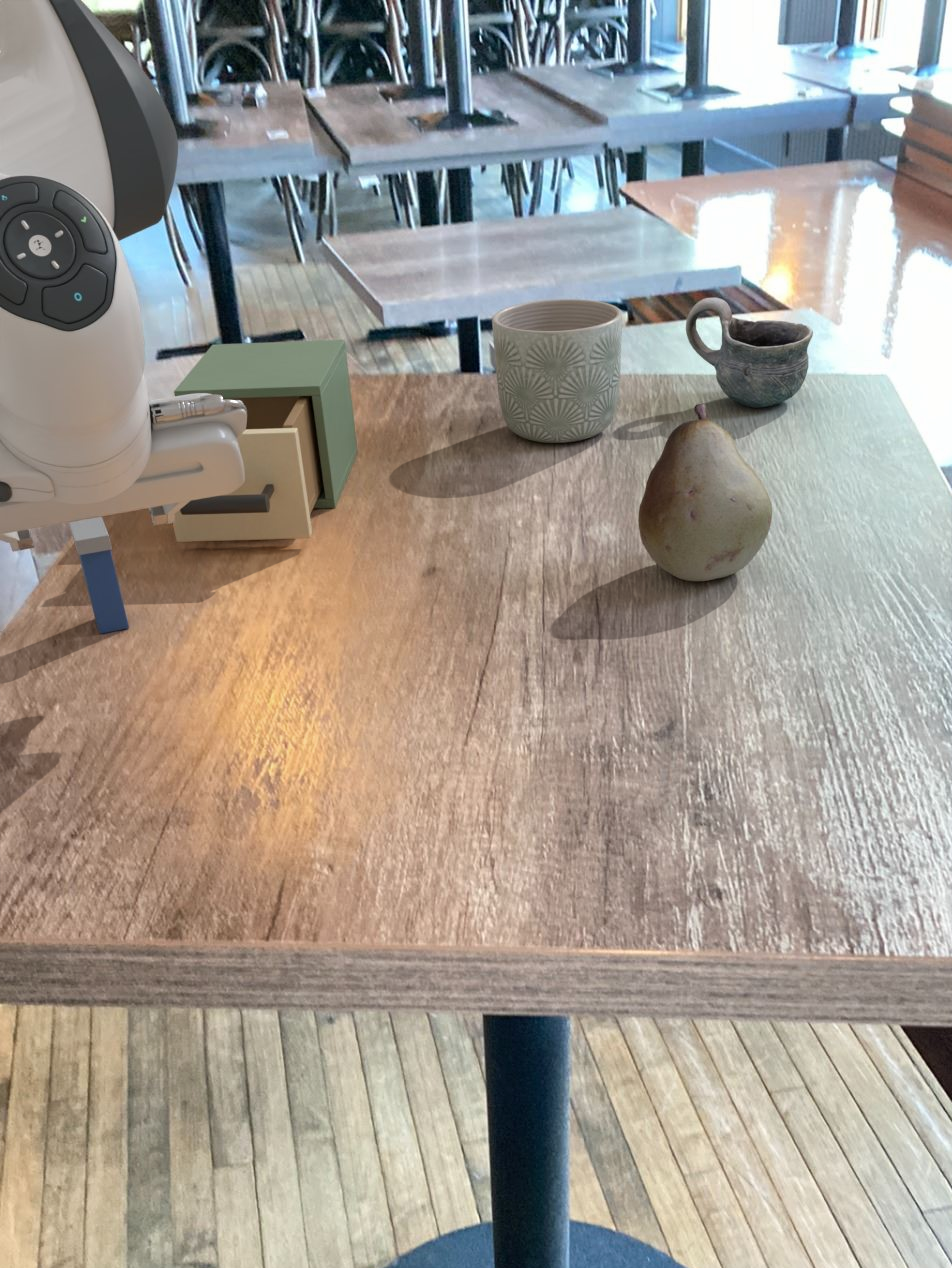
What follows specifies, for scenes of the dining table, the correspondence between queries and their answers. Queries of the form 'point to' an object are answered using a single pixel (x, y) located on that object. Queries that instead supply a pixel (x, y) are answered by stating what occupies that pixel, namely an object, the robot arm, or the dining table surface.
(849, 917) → the dining table surface
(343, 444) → the cabinet
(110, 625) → the blue upright block
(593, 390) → the planter
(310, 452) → the drawer
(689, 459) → the fruit
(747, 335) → the mug
